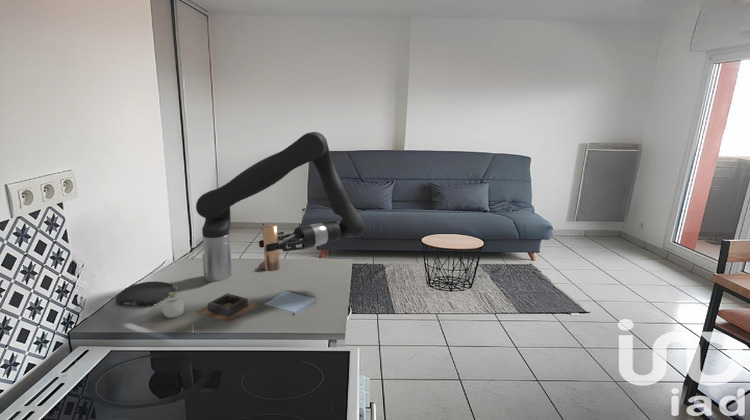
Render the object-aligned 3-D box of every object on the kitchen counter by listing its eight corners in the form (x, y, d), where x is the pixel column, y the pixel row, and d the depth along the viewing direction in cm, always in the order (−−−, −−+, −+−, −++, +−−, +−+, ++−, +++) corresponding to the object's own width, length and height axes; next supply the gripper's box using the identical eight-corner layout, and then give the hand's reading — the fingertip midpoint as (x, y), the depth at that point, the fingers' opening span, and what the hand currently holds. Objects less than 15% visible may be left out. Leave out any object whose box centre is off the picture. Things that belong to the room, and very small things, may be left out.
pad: (264, 307, 140) (264, 304, 140) (285, 294, 150) (285, 291, 149) (294, 315, 135) (294, 312, 135) (314, 301, 145) (314, 298, 144)
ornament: (160, 322, 130) (156, 291, 127) (170, 310, 137) (166, 281, 134) (180, 322, 130) (177, 291, 127) (189, 310, 137) (186, 281, 135)
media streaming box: (178, 290, 152) (177, 282, 152) (152, 309, 138) (151, 300, 138) (140, 287, 154) (139, 279, 153) (110, 305, 140) (109, 297, 139)
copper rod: (262, 269, 137) (259, 227, 133) (271, 265, 140) (268, 223, 137) (273, 272, 135) (270, 228, 131) (282, 267, 139) (280, 225, 135)
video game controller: (266, 274, 171) (273, 259, 169) (256, 268, 171) (263, 254, 169) (276, 265, 180) (283, 251, 178) (267, 259, 180) (273, 246, 178)
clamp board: (196, 314, 134) (195, 304, 133) (227, 298, 146) (226, 289, 145) (230, 325, 128) (229, 314, 127) (259, 307, 140) (259, 297, 139)
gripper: (299, 220, 149) (252, 229, 138) (322, 230, 138) (272, 240, 128) (300, 241, 151) (254, 251, 140) (322, 252, 140) (273, 264, 129)
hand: (263, 246), depth 134 cm, fingers closed on copper rod, 4 cm apart
